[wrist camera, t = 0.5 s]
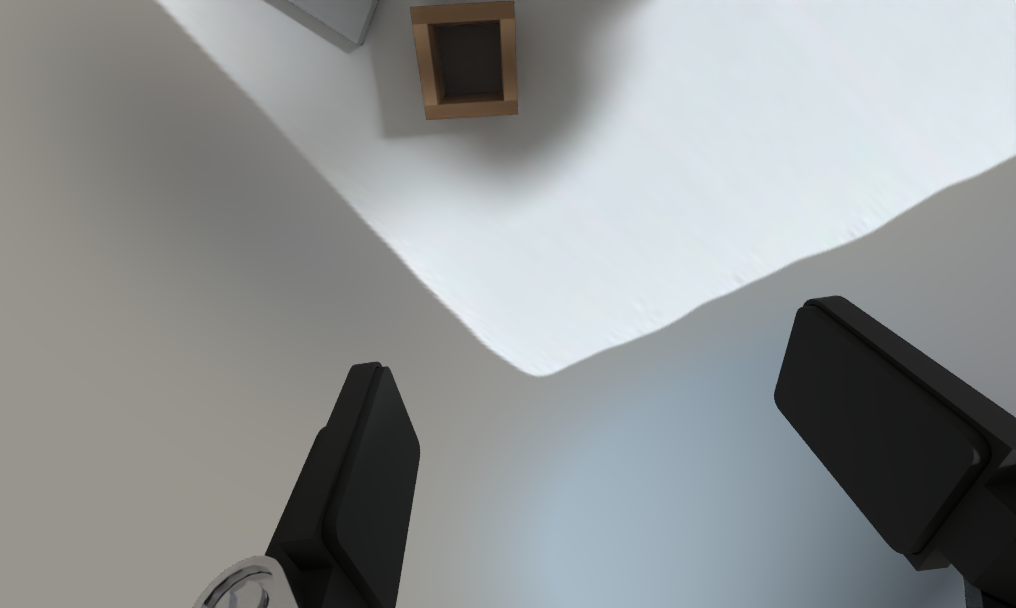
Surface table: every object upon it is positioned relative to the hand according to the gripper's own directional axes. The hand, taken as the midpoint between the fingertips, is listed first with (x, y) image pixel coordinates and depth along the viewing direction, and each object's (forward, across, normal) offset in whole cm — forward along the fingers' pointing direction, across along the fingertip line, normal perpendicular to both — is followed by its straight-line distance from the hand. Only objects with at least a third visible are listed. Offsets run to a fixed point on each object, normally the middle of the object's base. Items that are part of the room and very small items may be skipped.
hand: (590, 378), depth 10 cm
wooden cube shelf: (+30, +3, -6) cm, 31 cm away
